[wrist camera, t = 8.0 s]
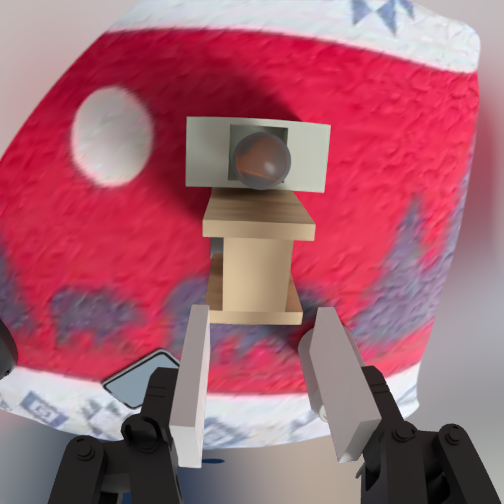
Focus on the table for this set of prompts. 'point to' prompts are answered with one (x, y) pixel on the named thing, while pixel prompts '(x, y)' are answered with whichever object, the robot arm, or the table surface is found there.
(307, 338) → the can
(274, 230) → the carriage
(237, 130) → the grey hollow block
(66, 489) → the robot arm
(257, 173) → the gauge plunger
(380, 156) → the table surface
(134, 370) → the smartphone
